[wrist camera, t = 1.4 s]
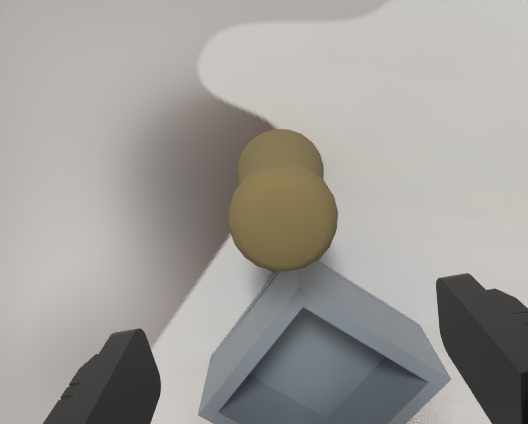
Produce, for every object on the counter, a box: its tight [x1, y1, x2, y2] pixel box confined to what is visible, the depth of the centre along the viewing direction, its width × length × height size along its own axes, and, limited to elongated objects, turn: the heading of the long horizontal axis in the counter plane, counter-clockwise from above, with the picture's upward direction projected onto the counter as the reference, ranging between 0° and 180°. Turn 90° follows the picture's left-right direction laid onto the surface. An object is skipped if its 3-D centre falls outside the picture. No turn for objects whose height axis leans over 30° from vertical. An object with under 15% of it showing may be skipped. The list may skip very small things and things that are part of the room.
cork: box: [228, 129, 338, 271], centre depth 23 cm, size 6×6×11 cm
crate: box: [198, 260, 451, 424], centre depth 29 cm, size 12×12×6 cm
